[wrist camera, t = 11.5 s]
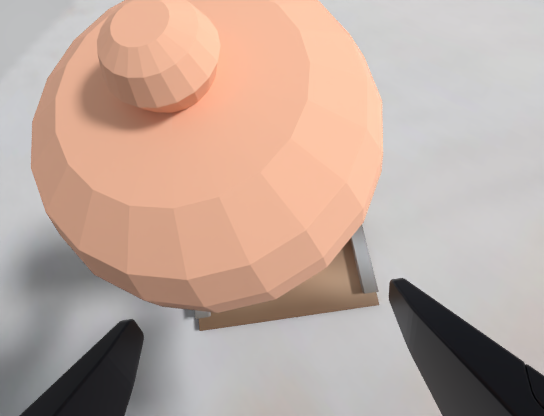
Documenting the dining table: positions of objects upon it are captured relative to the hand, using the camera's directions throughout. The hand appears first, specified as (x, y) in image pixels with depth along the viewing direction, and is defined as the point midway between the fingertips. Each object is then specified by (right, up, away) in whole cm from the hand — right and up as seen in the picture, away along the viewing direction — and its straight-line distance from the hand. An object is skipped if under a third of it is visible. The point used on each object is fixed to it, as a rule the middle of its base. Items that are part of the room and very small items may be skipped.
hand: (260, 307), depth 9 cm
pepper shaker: (+1, +1, +13) cm, 13 cm away
